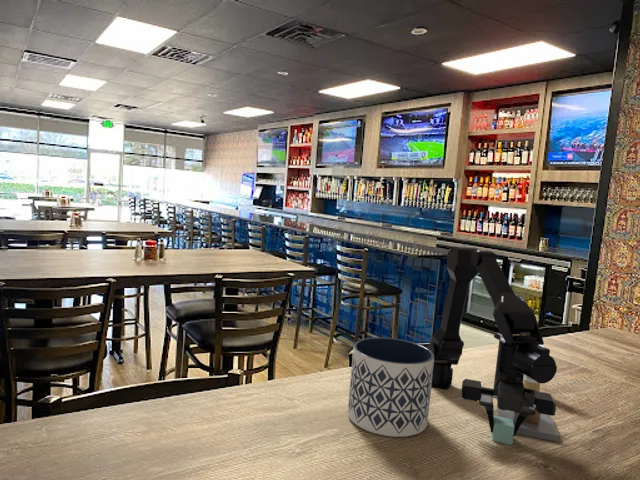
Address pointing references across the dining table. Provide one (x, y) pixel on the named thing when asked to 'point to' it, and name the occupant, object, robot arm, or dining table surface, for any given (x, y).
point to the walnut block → (532, 418)
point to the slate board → (534, 426)
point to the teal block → (503, 430)
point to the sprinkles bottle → (531, 382)
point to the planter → (390, 386)
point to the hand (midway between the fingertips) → (502, 433)
